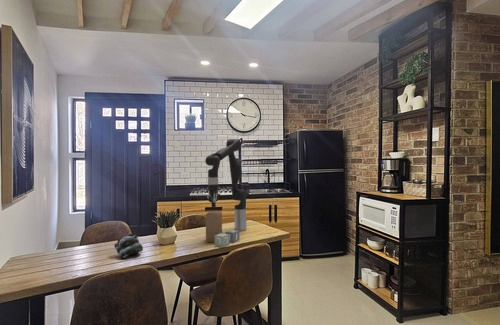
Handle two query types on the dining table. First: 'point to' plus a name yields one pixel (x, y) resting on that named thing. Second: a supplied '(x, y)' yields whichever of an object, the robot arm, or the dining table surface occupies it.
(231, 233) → the slate numbered cube
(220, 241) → the sage numbered cube
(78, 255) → the dining table surface
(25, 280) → the dining table surface
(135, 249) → the dark green lumpy piece
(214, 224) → the wooden block
